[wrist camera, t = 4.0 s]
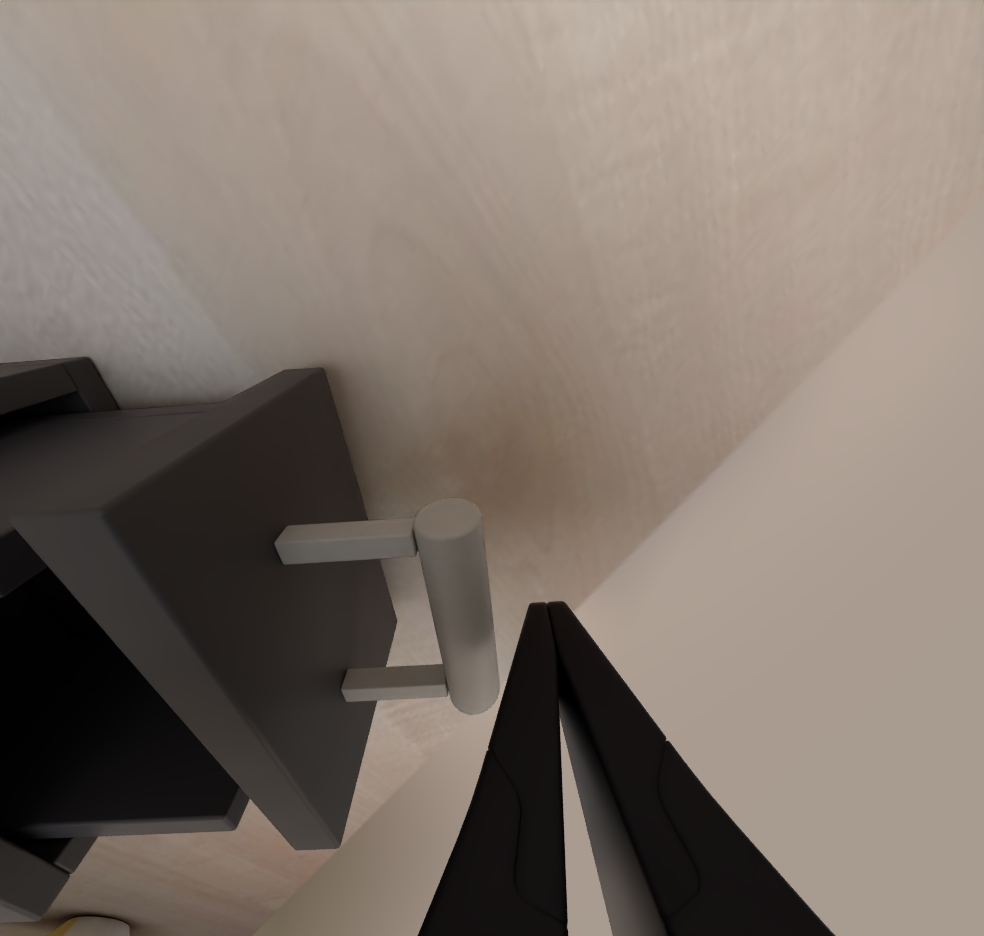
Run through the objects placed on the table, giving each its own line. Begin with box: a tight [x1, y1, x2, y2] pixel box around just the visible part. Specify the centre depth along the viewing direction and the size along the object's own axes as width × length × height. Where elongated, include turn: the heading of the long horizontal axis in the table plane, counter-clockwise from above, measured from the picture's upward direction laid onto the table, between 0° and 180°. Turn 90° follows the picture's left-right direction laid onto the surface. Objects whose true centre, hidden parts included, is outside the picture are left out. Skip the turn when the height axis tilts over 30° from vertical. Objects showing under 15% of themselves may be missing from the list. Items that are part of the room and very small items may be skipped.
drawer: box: [0, 367, 500, 850], centre depth 10 cm, size 17×10×7 cm, turn 94°
